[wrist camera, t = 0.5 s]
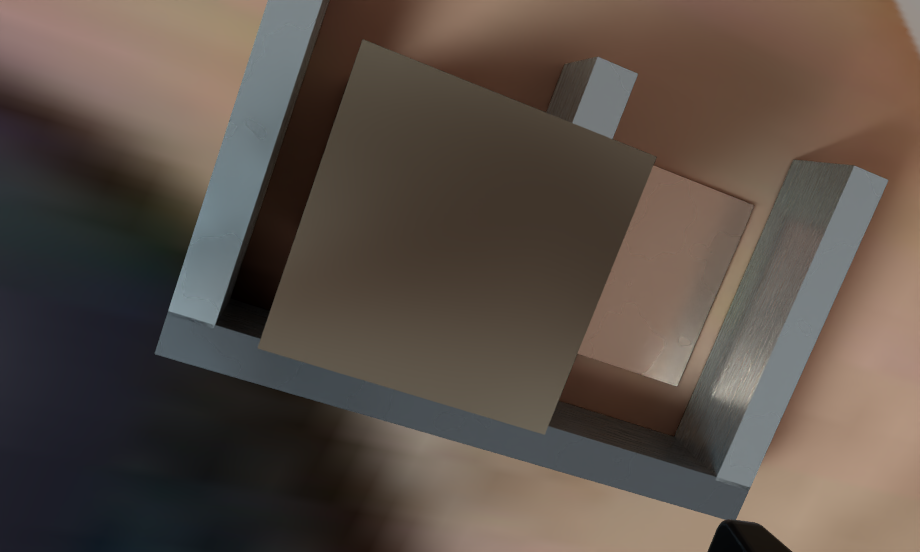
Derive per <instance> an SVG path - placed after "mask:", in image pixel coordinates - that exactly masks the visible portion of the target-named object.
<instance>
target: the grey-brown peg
mask: <svg viewBox="0 0 920 552" xmlns="http://www.w3.org/2000/svg"><path fill="white" fill-rule="evenodd" d="M656 158H657V157H656V156H653V155H651V154H648V153H646V152H643V151H641V150H638V149H636V148H633V147H631V146H628V145H626V144H623V143H621V142H618V141H616V140H613V139H611V138H608V137H606V136H603V135H601V134H598V133H596V132H593V131H591V130H588V129H586V128H583V127H581V126H578V125H576V124H573V123H571V122H568V121H566V120H563V119H561V118H558V117H556V116H553V115H551V114H548V113H546V112H543V111H541V110H538V109H536V108H533V107H531V106H528V105H526V104H523V103H521V102H518V101H516V100H513V99H511V98H508V97H506V96H503V95H501V94H498V93H496V92H493V91H491V90H488V89H486V88H483V87H481V86H478V85H476V84H473V83H471V82H468V81H466V80H463V79H461V78H458V77H456V76H453V75H451V74H448V73H446V72H443V71H441V70H438V69H436V68H433V67H431V66H428V65H426V64H423V63H421V62H418V61H416V60H413V59H411V58H408V57H406V56H403V55H401V54H398V53H396V52H393V51H391V50H388V49H386V48H383V47H381V46H378V45H376V44H374V43H371V42H369V41H366V40H364V39H363V40H362V43H361V46H360V49H359V51H358V54H357V57H356V60H355V63H354V66H353V69H352V72H351V75H350V78H349V81H348V84H347V87H346V89H345V92H344V95H343V98H342V101H341V104H340V107H339V110H338V113H337V116H336V119H335V122H334V125H333V128H332V131H331V133H330V136H329V139H328V142H327V145H326V148H325V151H324V154H323V157H322V160H321V163H320V166H319V169H318V172H317V175H316V178H315V180H314V183H313V186H312V189H311V192H310V195H309V198H308V201H307V204H306V207H305V210H304V213H303V216H302V219H301V222H300V225H299V227H298V230H297V233H296V236H295V239H294V242H293V245H292V248H291V251H290V254H289V257H288V260H287V263H286V266H285V269H284V272H283V275H282V277H281V280H280V283H279V286H278V289H277V292H276V295H275V298H274V301H273V304H272V307H271V310H270V313H269V316H268V319H267V322H266V325H265V327H264V330H263V333H262V336H261V339H260V342H259V345H258V349H261V350H264V351H268V352H271V353H274V354H278V355H281V356H284V357H288V358H291V359H294V360H298V361H301V362H304V363H308V364H311V365H314V366H318V367H321V368H324V369H328V370H331V371H334V372H338V373H341V374H344V375H348V376H351V377H354V378H357V379H361V380H364V381H367V382H371V383H374V384H377V385H381V386H384V387H387V388H391V389H394V390H397V391H401V392H404V393H407V394H411V395H414V396H417V397H421V398H424V399H427V400H431V401H434V402H437V403H441V404H444V405H447V406H451V407H454V408H457V409H461V410H464V411H467V412H471V413H474V414H477V415H481V416H484V417H487V418H491V419H494V420H497V421H501V422H504V423H507V424H511V425H514V426H517V427H521V428H524V429H527V430H531V431H534V432H537V433H541V434H544V435H545V433H546V430H547V428H548V425H549V423H550V420H551V418H552V415H553V413H554V410H555V408H556V405H557V403H558V401H559V398H560V396H561V393H562V391H563V388H564V386H565V383H566V381H567V378H568V376H569V373H570V371H571V368H572V366H573V363H574V361H575V358H576V356H577V353H578V351H579V348H580V346H581V344H582V341H583V339H584V336H585V334H586V331H587V329H588V326H589V324H590V321H591V319H592V316H593V314H594V311H595V309H596V306H597V304H598V301H599V299H600V296H601V294H602V292H603V289H604V287H605V284H606V282H607V279H608V277H609V274H610V272H611V269H612V267H613V264H614V262H615V259H616V257H617V254H618V252H619V249H620V247H621V244H622V242H623V239H624V237H625V235H626V232H627V230H628V227H629V225H630V222H631V220H632V217H633V215H634V212H635V210H636V207H637V205H638V202H639V200H640V197H641V195H642V192H643V190H644V187H645V185H646V182H647V180H648V178H649V175H650V173H651V170H652V168H653V165H654V163H655V160H656Z"/></svg>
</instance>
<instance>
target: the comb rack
mask: <svg viewBox="0 0 920 552" xmlns="http://www.w3.org/2000/svg"><path fill="white" fill-rule="evenodd" d="M328 3H329V0H268V2H267V5H266V8H265V11H264V14H263V17H262V21H261V24H260V27H259V30H258V33H257V36H256V39H255V42H254V45H253V49H252V52H251V55H250V58H249V61H248V64H247V67H246V70H245V74H244V77H243V80H242V83H241V86H240V89H239V92H238V95H237V99H236V102H235V105H234V108H233V111H232V114H231V117H230V120H229V123H228V127H227V130H226V133H225V136H224V139H223V142H222V145H221V148H220V152H219V155H218V158H217V161H216V164H215V167H214V170H213V173H212V176H211V180H210V183H209V186H208V189H207V192H206V195H205V198H204V201H203V205H202V208H201V211H200V214H199V217H198V220H197V223H196V226H195V229H194V233H193V236H192V239H191V242H190V245H189V248H188V251H187V254H186V258H185V261H184V264H183V267H182V270H181V273H180V276H179V279H178V282H177V286H176V289H175V292H174V295H173V298H172V301H171V304H170V307H169V311H168V314H167V317H166V320H165V323H164V326H163V329H162V332H161V335H160V339H159V342H158V345H157V348H156V351H155V354H156V355H160V356H163V357H167V358H170V359H174V360H177V361H181V362H184V363H187V364H191V365H194V366H198V367H201V368H205V369H208V370H212V371H215V372H218V373H222V374H225V375H229V376H232V377H236V378H239V379H243V380H246V381H249V382H253V383H256V384H260V385H263V386H267V387H270V388H274V389H277V390H281V391H284V392H287V393H291V394H294V395H298V396H301V397H305V398H308V399H312V400H315V401H318V402H322V403H325V404H329V405H332V406H336V407H339V408H343V409H346V410H349V411H353V412H356V413H360V414H363V415H367V416H370V417H374V418H377V419H380V420H384V421H387V422H391V423H394V424H398V425H401V426H405V427H408V428H411V429H415V430H418V431H422V432H425V433H429V434H432V435H436V436H439V437H443V438H446V439H449V440H453V441H456V442H460V443H463V444H467V445H470V446H474V447H477V448H480V449H484V450H487V451H491V452H494V453H498V454H501V455H505V456H508V457H511V458H515V459H518V460H522V461H525V462H529V463H532V464H536V465H539V466H542V467H546V468H549V469H553V470H556V471H560V472H563V473H567V474H570V475H574V476H577V477H580V478H584V479H587V480H591V481H594V482H598V483H601V484H605V485H608V486H611V487H615V488H618V489H622V490H625V491H629V492H632V493H636V494H639V495H642V496H646V497H649V498H653V499H656V500H660V501H663V502H667V503H670V504H673V505H677V506H680V507H684V508H687V509H691V510H694V511H698V512H701V513H704V514H708V515H711V516H715V517H718V518H722V519H725V520H727V519H732V520H736V518H737V516H738V514H739V511H740V509H741V507H742V505H743V503H744V500H745V498H746V496H747V494H748V491H749V489H750V487H751V485H752V483H753V480H754V478H755V476H756V474H757V471H758V469H759V467H760V465H761V463H762V460H763V458H764V456H765V454H766V451H767V449H768V447H769V445H770V443H771V440H772V438H773V436H774V434H775V431H776V429H777V427H778V425H779V423H780V420H781V418H782V416H783V414H784V411H785V409H786V407H787V405H788V403H789V400H790V398H791V396H792V394H793V391H794V389H795V387H796V385H797V383H798V380H799V378H800V376H801V374H802V371H803V369H804V367H805V365H806V363H807V360H808V358H809V356H810V354H811V351H812V349H813V347H814V345H815V343H816V340H817V338H818V336H819V334H820V331H821V329H822V327H823V325H824V323H825V320H826V318H827V316H828V314H829V311H830V309H831V307H832V305H833V303H834V300H835V298H836V296H837V294H838V291H839V289H840V287H841V285H842V283H843V280H844V278H845V276H846V274H847V271H848V269H849V267H850V265H851V262H852V260H853V258H854V256H855V254H856V251H857V249H858V247H859V245H860V242H861V240H862V238H863V236H864V234H865V231H866V229H867V227H868V225H869V222H870V220H871V218H872V216H873V214H874V211H875V209H876V207H877V205H878V202H879V200H880V198H881V196H882V194H883V191H884V189H885V187H886V185H887V182H888V180H887V179H885V178H883V177H880V176H878V175H875V174H873V173H871V172H868V171H866V170H864V169H861V168H859V167H857V166H854V165H843V164H833V163H823V162H813V161H802V160H793V162H792V164H791V167H790V169H789V171H788V174H787V176H786V178H785V181H784V183H783V185H782V188H781V190H780V192H779V195H778V197H777V199H776V202H775V204H774V206H773V209H772V211H771V213H770V215H769V218H768V220H767V222H766V225H765V227H764V229H763V232H762V234H761V236H760V239H759V241H758V243H757V246H756V248H755V250H754V253H753V255H752V257H751V260H750V262H749V264H748V267H747V269H746V271H745V274H744V276H743V278H742V281H741V283H740V285H739V288H738V290H737V292H736V295H735V297H734V299H733V302H732V304H731V306H730V308H729V311H728V313H727V315H726V318H725V320H724V322H723V325H722V327H721V329H720V332H719V334H718V336H717V339H716V341H715V343H714V346H713V348H712V350H711V353H710V355H709V357H708V360H707V362H706V364H705V367H704V369H703V371H702V374H701V376H700V378H699V381H698V383H697V385H696V388H695V390H694V392H693V395H692V397H691V399H690V402H689V404H688V406H687V408H686V411H685V413H684V415H683V418H682V420H681V422H680V425H679V427H678V429H677V432H676V434H675V436H674V437H673V436H670V435H667V434H664V433H660V432H657V431H654V430H651V429H647V428H644V427H641V426H638V425H635V424H631V423H628V422H625V421H622V420H619V419H615V418H612V417H609V416H606V415H603V414H599V413H596V412H593V411H590V410H587V409H583V408H580V407H577V406H574V405H571V404H567V403H564V402H561V401H558V403H557V405H556V408H555V410H554V413H553V415H552V418H551V420H550V423H549V425H548V428H547V430H546V433H545V435H544V434H541V433H537V432H534V431H531V430H527V429H524V428H521V427H517V426H514V425H511V424H507V423H504V422H501V421H497V420H494V419H491V418H487V417H484V416H481V415H477V414H474V413H471V412H467V411H464V410H461V409H457V408H454V407H451V406H447V405H444V404H441V403H437V402H434V401H431V400H427V399H424V398H421V397H417V396H414V395H411V394H407V393H404V392H401V391H397V390H394V389H391V388H387V387H384V386H381V385H377V384H374V383H371V382H367V381H364V380H361V379H357V378H354V377H351V376H348V375H344V374H341V373H338V372H334V371H331V370H328V369H324V368H321V367H318V366H314V365H311V364H308V363H304V362H301V361H298V360H294V359H291V358H288V357H284V356H281V355H278V354H274V353H271V352H268V351H264V350H261V349H258V345H259V342H260V339H261V336H262V333H263V330H264V327H265V325H266V322H267V319H268V316H269V313H270V311H269V310H266V309H263V308H260V307H257V306H253V305H250V304H247V303H244V302H240V301H237V300H234V299H231V295H232V292H233V289H234V286H235V283H236V280H237V277H238V274H239V271H240V268H241V265H242V262H243V259H244V256H245V253H246V250H247V247H248V244H249V241H250V238H251V235H252V232H253V229H254V226H255V223H256V220H257V217H258V214H259V211H260V208H261V205H262V202H263V199H264V196H265V193H266V190H267V187H268V184H269V181H270V178H271V175H272V172H273V169H274V166H275V163H276V160H277V157H278V154H279V151H280V148H281V145H282V142H283V139H284V136H285V133H286V130H287V127H288V124H289V121H290V118H291V115H292V112H293V109H294V106H295V103H296V100H297V97H298V94H299V91H300V88H301V85H302V82H303V79H304V76H305V73H306V69H307V66H308V63H309V60H310V57H311V54H312V51H313V48H314V45H315V42H316V39H317V36H318V33H319V30H320V27H321V24H322V21H323V18H324V15H325V12H326V9H327V6H328ZM637 75H638V74H637V73H635V72H633V71H630V70H628V69H626V68H623V67H621V66H619V65H616V64H614V63H612V62H609V61H607V60H604V59H602V58H600V57H594V58H590V59H585V60H581V61H576V62H572V63H567V64H565V65H564V67H563V70H562V72H561V75H560V78H559V80H558V83H557V86H556V88H555V91H554V93H553V96H552V99H551V101H550V104H549V107H548V109H547V112H546V113H548V114H551V115H553V116H556V117H558V118H561V119H563V120H566V121H568V122H571V123H573V124H576V125H578V126H581V127H583V128H586V129H588V130H591V131H593V132H596V133H598V134H601V135H603V136H606V137H608V138H611V139H613V136H614V134H615V131H616V129H617V126H618V124H619V121H620V119H621V116H622V114H623V111H624V108H625V106H626V103H627V101H628V98H629V96H630V93H631V91H632V88H633V86H634V83H635V81H636V78H637ZM753 207H754V205H752V204H749V203H747V202H744V201H742V200H739V199H737V198H734V197H732V196H729V195H727V194H724V193H722V192H719V191H717V190H714V189H712V188H709V187H707V186H704V185H702V184H699V183H697V182H694V181H691V180H689V179H686V178H684V177H681V176H679V175H676V174H674V173H671V172H669V171H666V170H664V169H661V168H659V167H656V166H654V165H653V168H652V170H651V173H650V175H649V178H648V180H647V182H646V185H645V187H644V190H643V192H642V195H641V197H640V200H639V202H638V205H637V207H636V210H635V212H634V215H633V217H632V220H631V222H630V225H629V227H628V230H627V232H626V235H625V237H624V239H623V242H622V244H621V247H620V249H619V252H618V254H617V257H616V259H615V262H614V264H613V267H612V269H611V272H610V274H609V277H608V279H607V282H606V284H605V287H604V289H603V292H602V294H601V296H600V299H599V301H598V304H597V306H596V309H595V311H594V314H593V316H592V319H591V321H590V324H589V326H588V329H587V331H586V334H585V336H584V339H583V341H582V344H581V346H580V348H579V351H578V353H577V354H580V355H583V356H586V357H589V358H592V359H595V360H598V361H601V362H604V363H607V364H610V365H613V366H616V367H619V368H623V369H626V370H629V371H632V372H635V373H638V374H641V375H644V376H647V377H650V378H653V379H656V380H659V381H662V382H665V383H668V384H671V385H674V386H678V383H679V381H680V379H681V376H682V374H683V371H684V369H685V367H686V364H687V362H688V360H689V357H690V355H691V353H692V350H693V348H694V346H695V343H696V341H697V339H698V336H699V334H700V332H701V329H702V327H703V325H704V322H705V320H706V318H707V315H708V313H709V311H710V308H711V306H712V303H713V301H714V299H715V296H716V294H717V292H718V289H719V287H720V285H721V282H722V280H723V278H724V275H725V273H726V271H727V268H728V266H729V264H730V261H731V259H732V257H733V254H734V252H735V250H736V247H737V245H738V242H739V240H740V238H741V235H742V233H743V231H744V228H745V226H746V224H747V221H748V219H749V217H750V214H751V212H752V210H753Z"/></svg>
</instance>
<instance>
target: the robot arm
mask: <svg viewBox="0 0 920 552" xmlns="http://www.w3.org/2000/svg"><path fill="white" fill-rule="evenodd" d="M708 552H792V551H791V550H790V549H788V548H787V547H786V546H785V545H784V544H783V543H782V542H780V541H779V540H778V539H777V538H776V537H775V536H773V535H772V534H771V533H770V532H769V531H768V530H766V529H765V528H764V527H763V526H761V525H760V524H758V523H754V522H747V521H740V520H732V519H727V520H724V521H723V522H721V523H720V525H719V526H718V528H717V530H716V532H715V535H714V537H713V540H712V542H711V545H710V547H709V549H708Z"/></svg>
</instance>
